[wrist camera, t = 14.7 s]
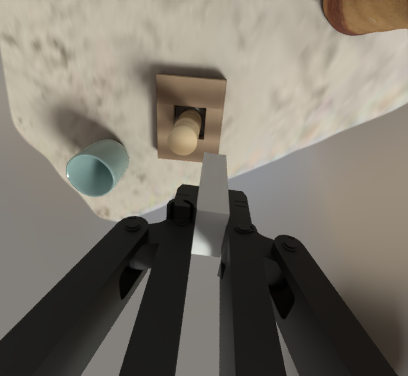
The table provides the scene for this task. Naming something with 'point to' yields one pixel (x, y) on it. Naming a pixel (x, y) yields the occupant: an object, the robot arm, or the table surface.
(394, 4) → the wafer roll
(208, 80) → the box with square hole
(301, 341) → the robot arm
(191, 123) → the peg
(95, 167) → the cup
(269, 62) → the table surface
